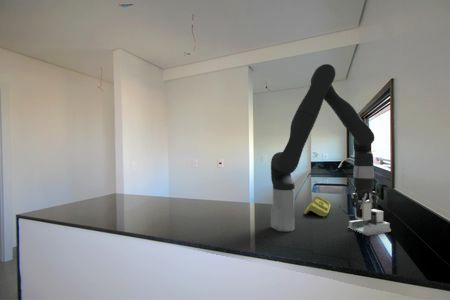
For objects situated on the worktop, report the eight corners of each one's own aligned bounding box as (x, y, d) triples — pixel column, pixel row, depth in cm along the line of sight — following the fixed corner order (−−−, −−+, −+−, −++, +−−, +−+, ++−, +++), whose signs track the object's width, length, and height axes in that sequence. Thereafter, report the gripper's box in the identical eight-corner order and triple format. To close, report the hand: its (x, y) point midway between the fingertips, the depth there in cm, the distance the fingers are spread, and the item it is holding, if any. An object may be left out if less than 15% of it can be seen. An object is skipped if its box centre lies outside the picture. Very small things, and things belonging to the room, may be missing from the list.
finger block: (364, 220, 95) (364, 203, 95) (355, 218, 99) (355, 201, 99) (371, 219, 97) (371, 202, 97) (363, 216, 100) (362, 200, 100)
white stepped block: (367, 235, 92) (367, 215, 92) (347, 228, 100) (348, 210, 100) (390, 231, 97) (390, 212, 97) (370, 225, 105) (370, 207, 105)
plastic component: (327, 213, 116) (308, 203, 120) (320, 225, 118) (302, 214, 122) (331, 203, 133) (314, 194, 137) (325, 213, 135) (309, 204, 139)
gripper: (359, 178, 91) (359, 221, 91) (383, 176, 97) (384, 217, 97) (343, 176, 98) (343, 216, 98) (366, 175, 104) (367, 212, 104)
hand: (363, 216), depth 98 cm, fingers closed on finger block, 4 cm apart
